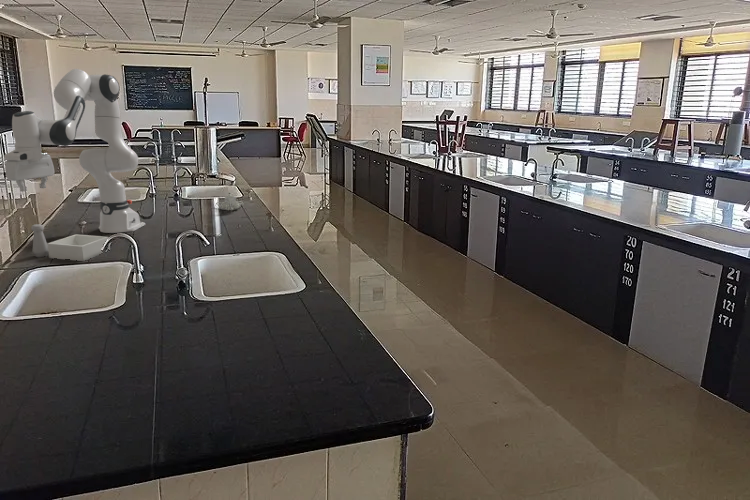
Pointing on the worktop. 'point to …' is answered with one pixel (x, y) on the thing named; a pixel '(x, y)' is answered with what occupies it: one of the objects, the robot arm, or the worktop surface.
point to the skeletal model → (229, 202)
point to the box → (77, 247)
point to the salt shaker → (39, 241)
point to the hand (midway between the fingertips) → (33, 189)
